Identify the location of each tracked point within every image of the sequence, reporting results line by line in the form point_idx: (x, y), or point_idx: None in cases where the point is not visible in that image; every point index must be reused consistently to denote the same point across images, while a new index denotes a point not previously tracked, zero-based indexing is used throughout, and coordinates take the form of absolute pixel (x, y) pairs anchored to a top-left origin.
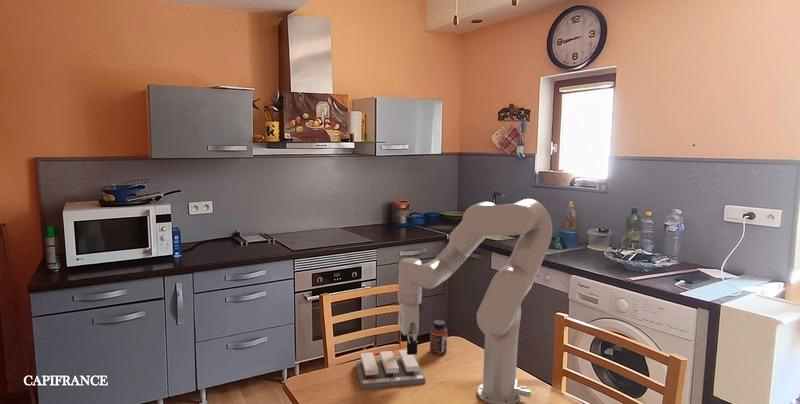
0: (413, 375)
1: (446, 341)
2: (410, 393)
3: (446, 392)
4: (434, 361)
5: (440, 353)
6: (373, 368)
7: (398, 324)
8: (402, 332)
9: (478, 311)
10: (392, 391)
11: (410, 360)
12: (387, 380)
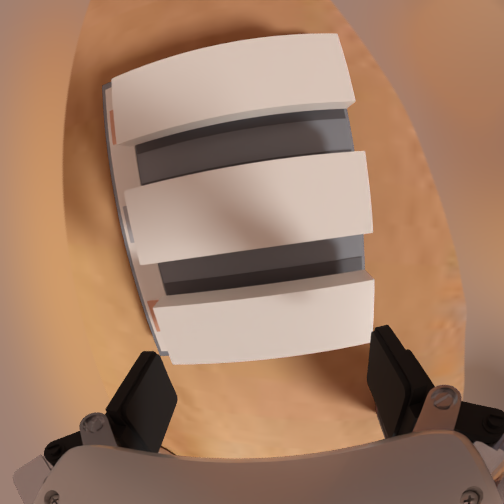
0: None
1: None
2: (92, 282)
3: None
4: (339, 389)
5: (376, 409)
6: (128, 115)
7: (422, 444)
8: (111, 459)
9: None
10: (95, 216)
11: (232, 336)
12: (122, 195)
